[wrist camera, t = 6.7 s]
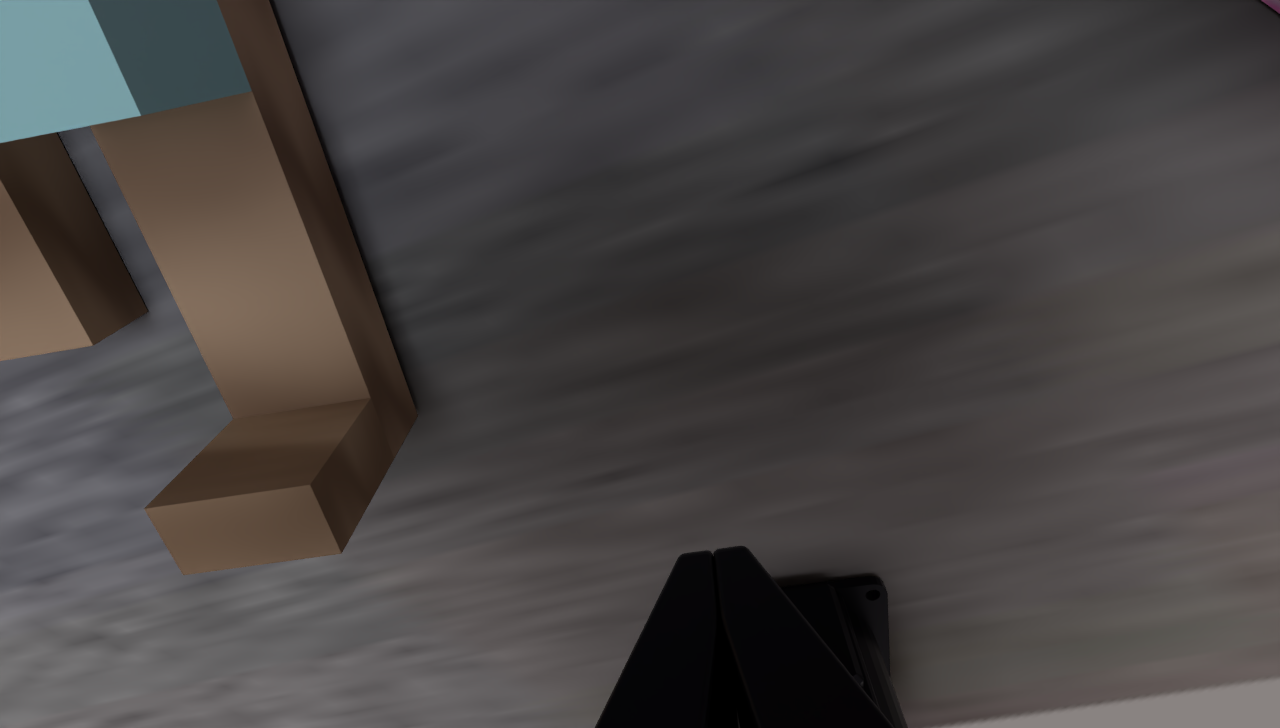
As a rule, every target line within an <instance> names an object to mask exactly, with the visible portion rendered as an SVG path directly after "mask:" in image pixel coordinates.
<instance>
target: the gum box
mask: <svg viewBox="0 0 1280 728" xmlns="http://www.w3.org/2000/svg"><path fill="white" fill-rule="evenodd" d="M1261 1H1263V2H1264V3H1266V4H1267V5H1268V6H1270V7H1271V8H1273V9H1274V10H1275V11H1277V12H1278V13H1279V14H1280V0H1261Z"/></svg>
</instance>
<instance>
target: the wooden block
mask: <svg viewBox="0 0 1280 728" xmlns="http://www.w3.org/2000/svg"><path fill="white" fill-rule="evenodd" d="M217 2H218V5H219V8H220V10H221V13H222V15H223V18H224V20H225V23H226V26H227V28H228V31H229V33H230V36H231V39H232V41H233V44H234V46H235V49H236V51H237V54H238V57H239V59H240V62H241V64H242V67H243V69H244V72H245V75H246V77H247V80H248V82H249V85H250V88H251V90H252V91H250V92H246V93H241V94H237V95H232V96H228V97H223V98H219V99H214V100H210V101H205V102H201V103H196V104H192V105H187V106H182V107H178V108H173V109H169V110H164V111H160V112H155V113H151V114H146V115H142V116H137V117H132V118H127V119H121V120H116V121H111V122H106V123H101V124H96V125H91V126H90V128H91V130H92V132H93V134H94V136H95V138H96V140H97V142H98V144H99V146H100V148H101V150H102V152H103V154H104V156H105V158H106V160H107V162H108V165H109V167H110V169H111V171H112V173H113V175H114V177H115V179H116V181H117V183H118V185H119V187H120V189H121V191H122V193H123V195H124V197H125V199H126V201H127V203H128V205H129V207H130V209H131V211H132V213H133V215H134V218H135V220H136V222H137V224H138V226H139V228H140V230H141V232H142V234H143V236H144V238H145V240H146V242H147V244H148V246H149V248H150V250H151V252H152V254H153V256H154V258H155V260H156V262H157V264H158V266H159V268H160V271H161V273H162V275H163V277H164V279H165V281H166V283H167V285H168V287H169V289H170V291H171V293H172V295H173V297H174V299H175V301H176V303H177V305H178V307H179V309H180V311H181V313H182V315H183V317H184V319H185V321H186V324H187V326H188V328H189V330H190V332H191V334H192V336H193V338H194V340H195V342H196V344H197V346H198V348H199V350H200V352H201V354H202V356H203V358H204V360H205V362H206V364H207V366H208V368H209V370H210V372H211V374H212V377H213V379H214V381H215V383H216V385H217V387H218V389H219V391H220V393H221V395H222V397H223V399H224V401H225V403H226V405H227V407H228V409H229V411H230V413H231V415H232V417H233V420H232V421H231V422H230V423H229V424H228V425H227V426H226V427H225V428H224V429H223V430H222V431H221V432H220V433H219V434H218V435H217V436H216V437H215V438H214V439H213V440H212V441H211V442H210V443H209V444H208V445H207V446H206V447H205V448H204V449H203V450H202V451H201V452H200V453H199V454H198V455H197V456H196V457H195V458H194V459H193V460H192V461H191V462H190V463H189V464H188V465H187V466H186V467H185V468H184V469H183V470H182V471H181V472H180V473H179V474H178V475H177V476H176V477H175V478H174V479H173V480H172V481H171V482H170V483H169V484H168V485H167V486H166V487H165V488H164V489H163V490H162V491H161V492H160V493H159V494H158V495H157V496H156V497H155V498H154V499H153V500H152V501H151V502H150V503H149V504H148V505H147V506H146V507H145V508H144V509H145V511H146V513H147V515H148V516H149V518H150V520H151V521H152V523H153V525H154V526H155V528H156V530H157V531H158V533H159V535H160V537H161V538H162V540H163V542H164V543H165V545H166V547H167V548H168V550H169V552H170V553H171V555H172V557H173V559H174V560H175V562H176V564H177V565H178V567H179V569H180V570H181V572H182V574H183V575H188V574H195V573H202V572H210V571H217V570H224V569H232V568H239V567H246V566H254V565H261V564H269V563H276V562H283V561H291V560H298V559H305V558H313V557H320V556H327V555H335V554H342V552H343V550H344V548H345V546H346V545H347V543H348V541H349V539H350V537H351V536H352V534H353V532H354V530H355V528H356V526H357V525H358V523H359V521H360V519H361V517H362V516H363V514H364V512H365V510H366V508H367V507H368V505H369V503H370V501H371V499H372V498H373V496H374V494H375V492H376V490H377V489H378V487H379V485H380V483H381V481H382V480H383V478H384V476H385V474H386V472H387V471H388V469H389V467H390V465H391V463H392V462H393V460H394V458H395V456H396V454H397V453H398V451H399V449H400V447H401V445H402V444H403V442H404V440H405V438H406V436H407V435H408V433H409V431H410V429H411V427H412V426H413V424H414V422H415V420H416V418H417V417H418V414H417V411H416V409H415V406H414V403H413V400H412V398H411V395H410V392H409V389H408V386H407V384H406V381H405V378H404V375H403V372H402V370H401V367H400V364H399V361H398V359H397V356H396V353H395V350H394V347H393V345H392V342H391V339H390V336H389V334H388V331H387V328H386V325H385V322H384V320H383V317H382V314H381V311H380V308H379V306H378V303H377V300H376V297H375V295H374V292H373V289H372V286H371V283H370V281H369V278H368V275H367V272H366V269H365V267H364V264H363V261H362V258H361V256H360V253H359V250H358V247H357V244H356V242H355V239H354V236H353V233H352V230H351V228H350V225H349V222H348V219H347V217H346V214H345V211H344V208H343V205H342V203H341V200H340V197H339V194H338V192H337V189H336V186H335V183H334V180H333V178H332V175H331V172H330V169H329V166H328V164H327V161H326V158H325V155H324V153H323V150H322V147H321V144H320V141H319V139H318V136H317V133H316V130H315V127H314V125H313V122H312V119H311V116H310V114H309V111H308V108H307V105H306V102H305V100H304V97H303V94H302V91H301V89H300V86H299V83H298V80H297V77H296V75H295V72H294V69H293V66H292V63H291V61H290V58H289V55H288V52H287V50H286V47H285V44H284V41H283V38H282V36H281V33H280V30H279V27H278V24H277V22H276V19H275V16H274V13H273V11H272V8H271V5H270V2H269V0H217Z"/></svg>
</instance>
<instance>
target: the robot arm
mask: <svg viewBox="0 0 1280 728" xmlns="http://www.w3.org/2000/svg"><path fill="white" fill-rule="evenodd" d="M870 590H875V591H873V592H868V591H870ZM595 728H908V727H907V724H906V721H905V718H904V715H903V713H902V710H901V707H900V704H899V702H898V699H897V696H896V693H895V690H894V688H893V685H892V682H891V679H890V659H889V628H888V598H887V591H886V588H885V585H884V583H883V581H882V580H881V579H880V578H877V577H872V576H869V577H861V578H853V579H845V580H837V581H829V582H821V583H813V584H805V585H797V586H789V587H781V588H780V587H779V586H778V585H777V584H776V582H775V581H774V580H773V579H772V577H771V576H770V575H769V574H768V572H767V571H766V570H765V569H764V568H763V566H762V565H761V564H760V563H759V561H758V560H757V559H756V558H755V557H754V555H753V554H752V553H751V552H750V550H749V549H748V548H746V547H745V546H735V547H728V548H721V549H717V550H716V551H715V552H714V557H713V554H712V553H711V552H710V551H699V552H692V553H684V554H682V555H680V556H679V557H678V559H677V561H676V563H675V565H674V567H673V569H672V571H671V573H670V575H669V577H668V579H667V581H666V584H665V586H664V588H663V590H662V592H661V594H660V596H659V598H658V600H657V602H656V604H655V606H654V608H653V610H652V612H651V614H650V616H649V618H648V620H647V622H646V624H645V626H644V628H643V630H642V632H641V634H640V637H639V639H638V641H637V643H636V645H635V647H634V649H633V651H632V653H631V655H630V657H629V659H628V661H627V663H626V665H625V667H624V669H623V671H622V673H621V675H620V677H619V679H618V681H617V683H616V685H615V688H614V690H613V692H612V694H611V696H610V698H609V700H608V702H607V704H606V706H605V708H604V710H603V712H602V714H601V716H600V718H599V720H598V722H597V724H596V726H595Z"/></svg>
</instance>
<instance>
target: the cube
mask: <svg viewBox="0 0 1280 728" xmlns="http://www.w3.org/2000/svg"><path fill="white" fill-rule="evenodd" d="M250 91H252V90H251V88H250V85H249V82H248V80H247V77H246V75H245V72H244V69H243V67H242V64H241V62H240V59H239V57H238V54H237V51H236V49H235V46H234V44H233V41H232V39H231V36H230V33H229V31H228V28H227V26H226V23H225V20H224V18H223V15H222V13H221V10H220V8H219V5H218V2H217V0H0V143H3V142H8V141H13V140H18V139H24V138H29V137H34V136H39V135H44V134H49V133H54V132H60V131H65V130H70V129H75V128H80V127H85V126H91V125H96V124H101V123H106V122H111V121H116V120H121V119H127V118H132V117H137V116H142V115H146V114H151V113H155V112H160V111H164V110H169V109H173V108H178V107H182V106H187V105H192V104H196V103H201V102H205V101H210V100H214V99H219V98H223V97H228V96H232V95H237V94H241V93H246V92H250Z"/></svg>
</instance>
